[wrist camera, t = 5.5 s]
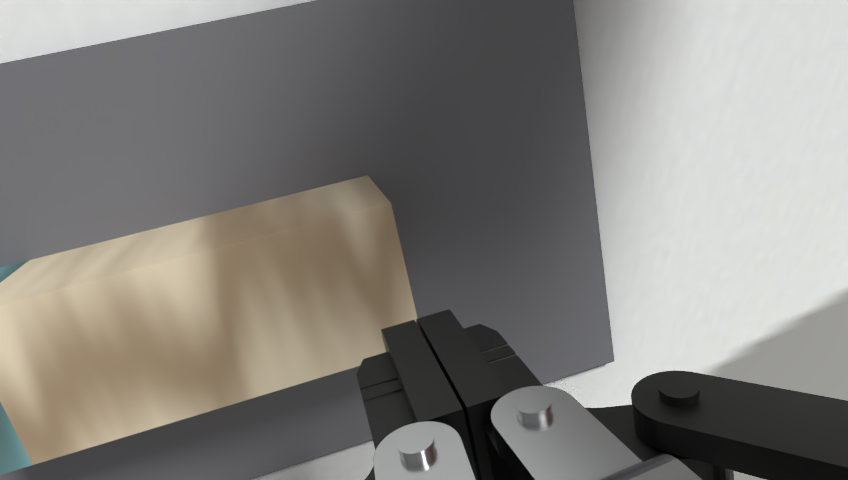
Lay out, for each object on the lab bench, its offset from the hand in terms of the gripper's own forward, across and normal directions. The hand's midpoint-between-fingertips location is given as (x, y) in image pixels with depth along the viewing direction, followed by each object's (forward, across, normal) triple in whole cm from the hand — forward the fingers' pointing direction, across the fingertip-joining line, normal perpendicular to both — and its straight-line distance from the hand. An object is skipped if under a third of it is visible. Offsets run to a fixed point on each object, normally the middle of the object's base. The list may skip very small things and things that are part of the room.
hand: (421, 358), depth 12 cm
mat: (+10, +5, 0) cm, 11 cm away
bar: (+7, -1, 0) cm, 7 cm away
